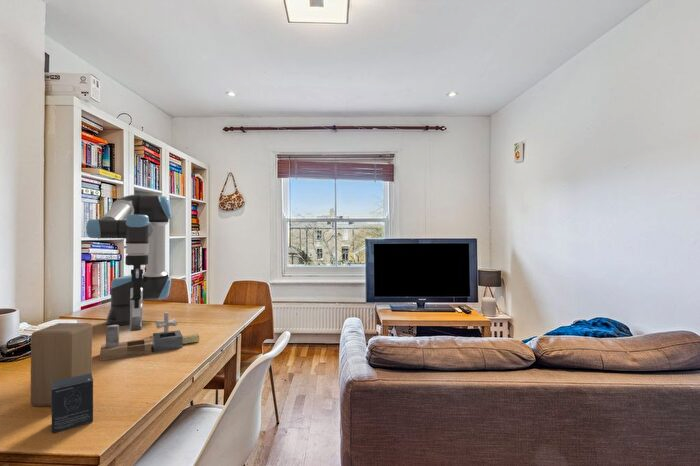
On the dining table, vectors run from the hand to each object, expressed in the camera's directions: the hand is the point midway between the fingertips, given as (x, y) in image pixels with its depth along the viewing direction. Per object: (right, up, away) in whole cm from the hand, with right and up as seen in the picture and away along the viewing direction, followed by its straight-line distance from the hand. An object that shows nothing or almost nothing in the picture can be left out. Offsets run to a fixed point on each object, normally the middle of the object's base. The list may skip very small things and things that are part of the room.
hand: (136, 315), depth 133 cm
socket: (+8, -14, +8) cm, 18 cm away
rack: (-4, -14, -2) cm, 15 cm away
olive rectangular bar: (+14, -14, +12) cm, 24 cm away
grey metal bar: (0, -6, 0) cm, 6 cm away
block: (+2, -15, -36) cm, 39 cm away
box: (+14, -15, -49) cm, 53 cm away
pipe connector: (-1, -14, +23) cm, 27 cm away
